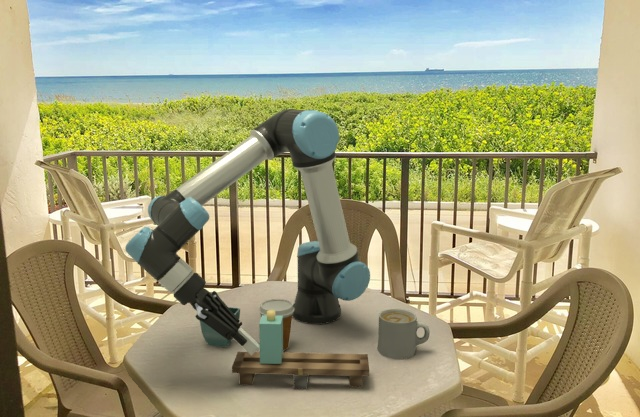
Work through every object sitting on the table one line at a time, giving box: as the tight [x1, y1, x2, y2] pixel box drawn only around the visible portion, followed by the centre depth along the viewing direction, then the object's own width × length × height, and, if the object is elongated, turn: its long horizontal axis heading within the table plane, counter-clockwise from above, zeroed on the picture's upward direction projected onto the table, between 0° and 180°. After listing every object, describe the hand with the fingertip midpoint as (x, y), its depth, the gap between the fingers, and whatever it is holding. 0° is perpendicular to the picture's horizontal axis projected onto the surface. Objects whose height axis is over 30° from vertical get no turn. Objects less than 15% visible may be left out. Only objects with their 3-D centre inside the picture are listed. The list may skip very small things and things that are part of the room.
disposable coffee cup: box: [258, 298, 294, 351], centre depth 154 cm, size 10×10×12 cm
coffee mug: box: [377, 308, 431, 360], centre depth 152 cm, size 13×10×10 cm
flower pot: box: [199, 306, 241, 348], centre depth 156 cm, size 9×9×9 cm
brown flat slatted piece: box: [231, 351, 370, 390], centre depth 137 cm, size 32×9×5 cm, turn 88°
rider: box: [258, 310, 284, 364], centre depth 136 cm, size 5×5×13 cm
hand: (255, 350), depth 136 cm, fingers closed
